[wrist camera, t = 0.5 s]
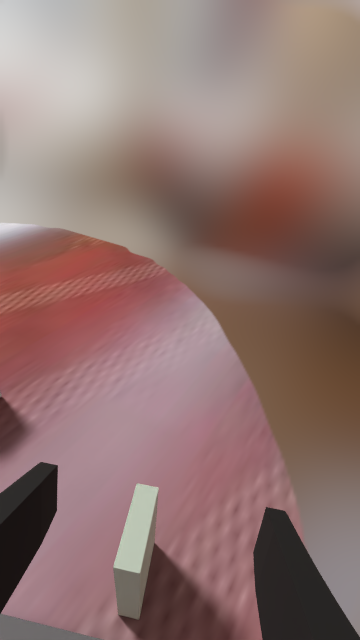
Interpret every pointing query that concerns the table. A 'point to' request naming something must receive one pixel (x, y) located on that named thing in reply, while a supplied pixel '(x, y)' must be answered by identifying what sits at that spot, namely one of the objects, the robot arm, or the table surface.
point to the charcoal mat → (34, 631)
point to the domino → (136, 551)
